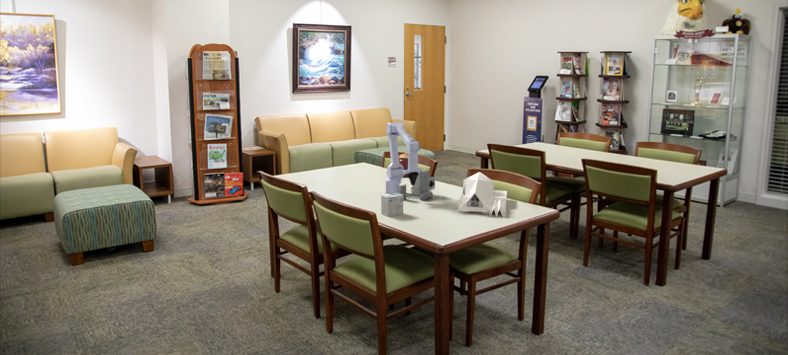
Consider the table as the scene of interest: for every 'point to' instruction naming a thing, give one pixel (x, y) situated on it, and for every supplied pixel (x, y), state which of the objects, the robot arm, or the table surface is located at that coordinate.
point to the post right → (426, 195)
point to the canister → (404, 162)
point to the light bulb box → (392, 204)
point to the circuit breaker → (423, 183)
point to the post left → (403, 190)
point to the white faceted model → (482, 196)
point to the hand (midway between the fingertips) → (412, 184)
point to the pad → (414, 197)
